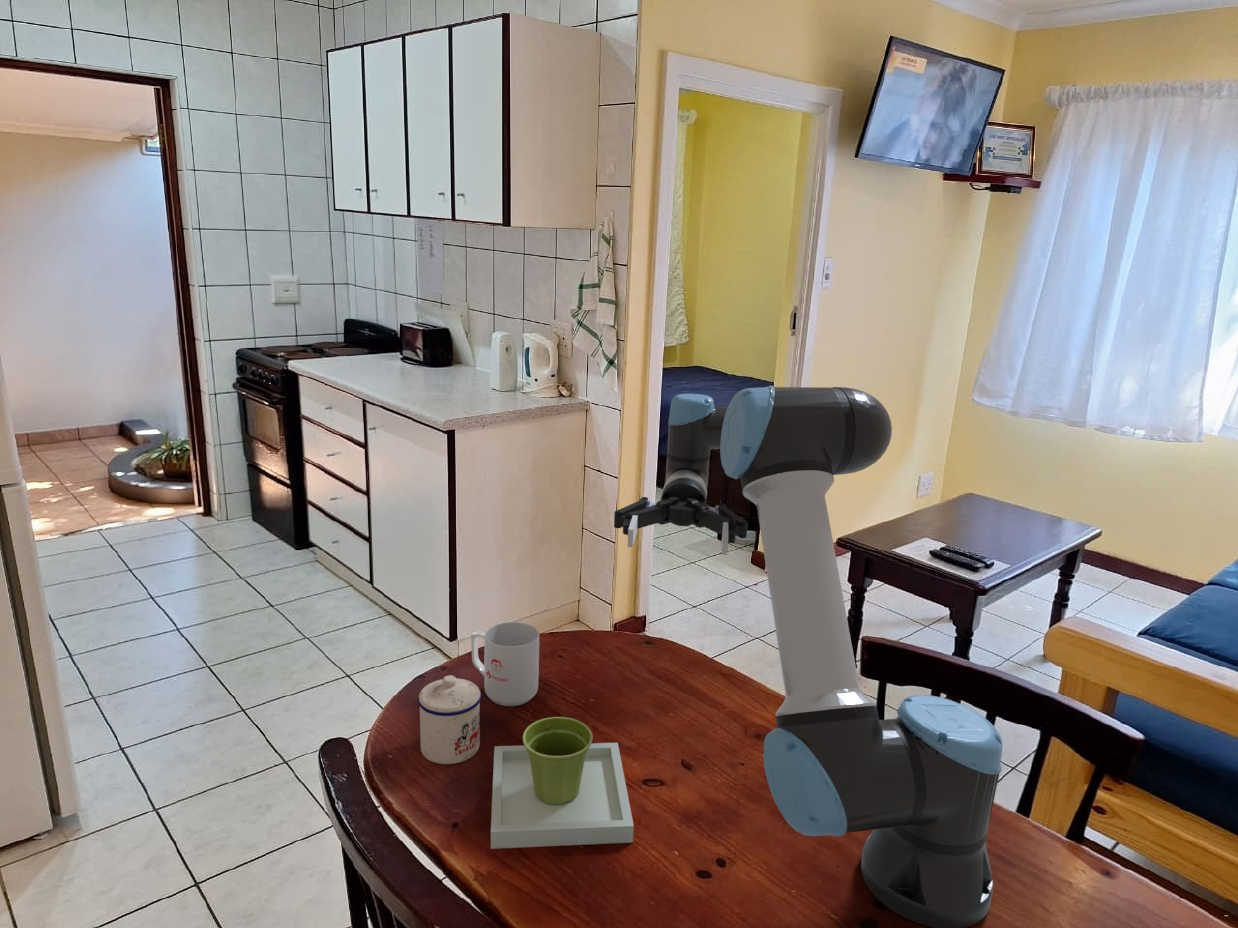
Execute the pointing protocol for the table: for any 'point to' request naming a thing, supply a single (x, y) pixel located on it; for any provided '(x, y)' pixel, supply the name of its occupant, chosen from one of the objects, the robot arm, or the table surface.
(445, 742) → the teacup with lid
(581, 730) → the plant pot
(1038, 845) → the table surface
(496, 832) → the tray
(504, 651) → the mug
